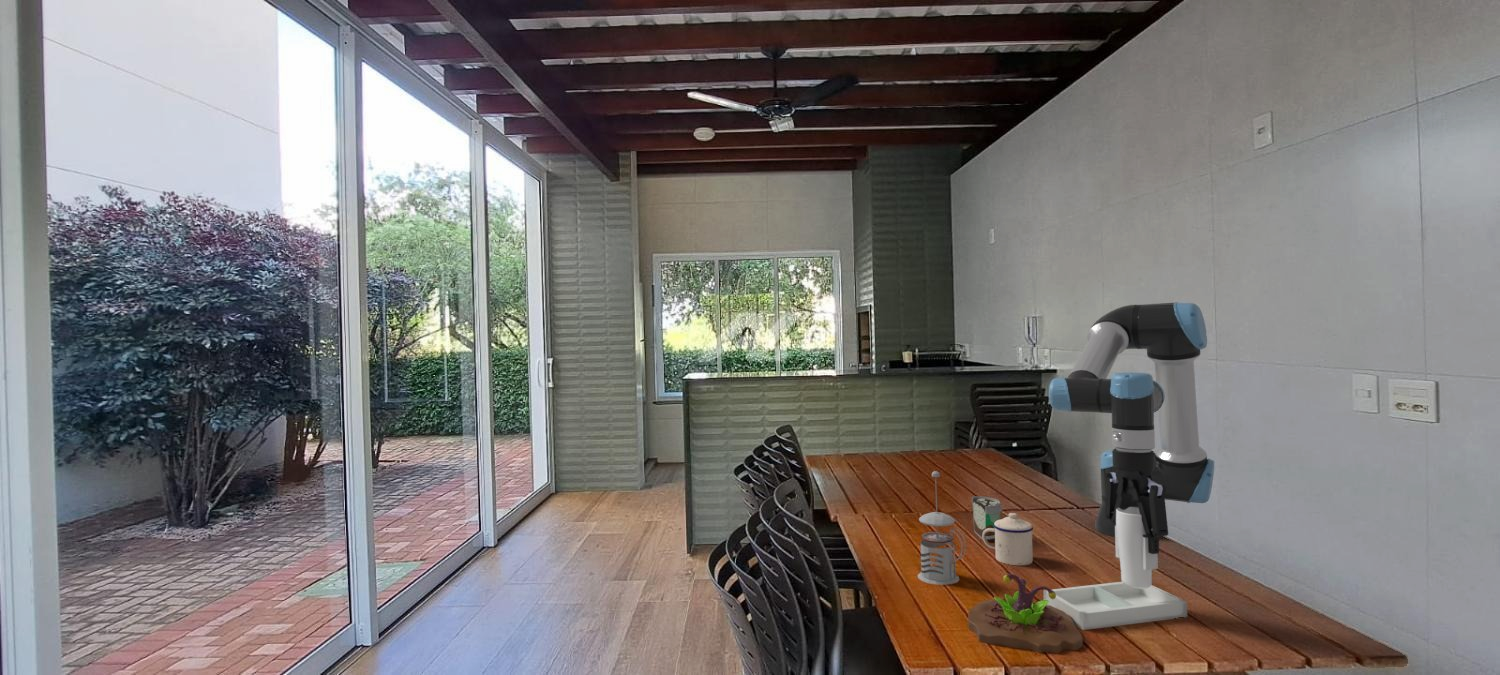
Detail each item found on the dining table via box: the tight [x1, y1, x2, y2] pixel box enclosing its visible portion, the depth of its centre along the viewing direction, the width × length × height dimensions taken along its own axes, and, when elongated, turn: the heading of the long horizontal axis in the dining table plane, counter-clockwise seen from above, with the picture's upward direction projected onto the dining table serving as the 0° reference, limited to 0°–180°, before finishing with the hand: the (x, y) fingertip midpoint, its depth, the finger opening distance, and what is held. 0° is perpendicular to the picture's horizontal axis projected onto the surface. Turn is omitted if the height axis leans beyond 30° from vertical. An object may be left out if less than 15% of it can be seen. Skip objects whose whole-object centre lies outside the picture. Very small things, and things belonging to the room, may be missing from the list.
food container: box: [971, 495, 1003, 543], centre depth 186 cm, size 12×6×10 cm, turn 179°
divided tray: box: [1042, 581, 1188, 631], centre depth 134 cm, size 23×12×4 cm, turn 101°
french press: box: [917, 470, 967, 586], centre depth 155 cm, size 10×12×25 cm
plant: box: [967, 573, 1084, 654], centre depth 128 cm, size 20×20×11 cm
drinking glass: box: [1116, 507, 1153, 589], centre depth 135 cm, size 7×7×15 cm
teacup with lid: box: [982, 512, 1034, 567], centre depth 167 cm, size 12×9×12 cm
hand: (1136, 562), depth 135 cm, fingers closed on drinking glass, 7 cm apart
